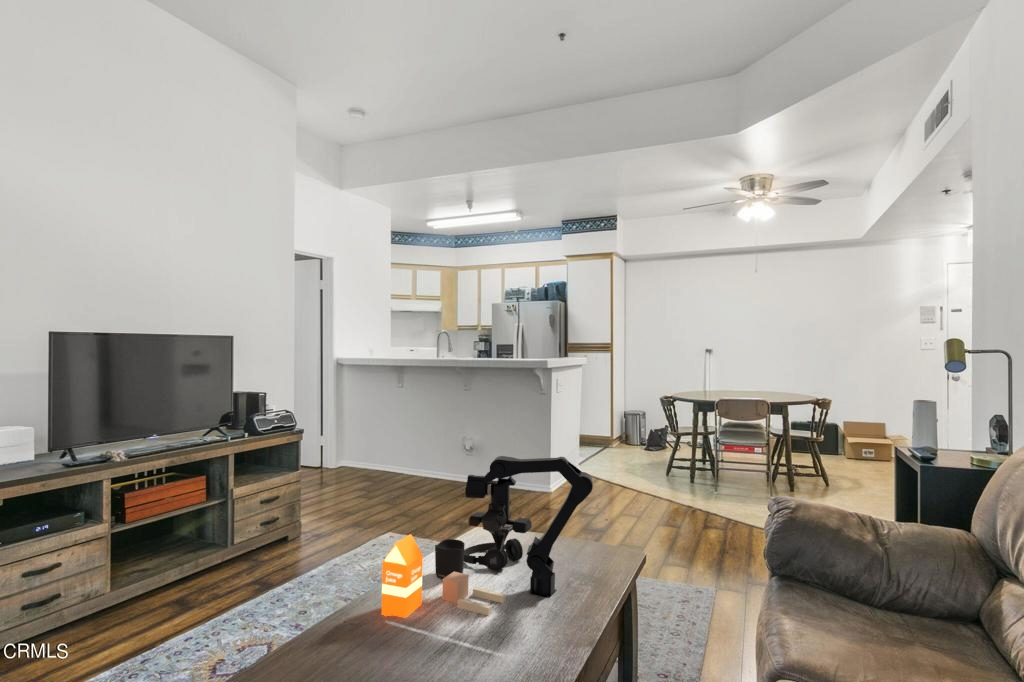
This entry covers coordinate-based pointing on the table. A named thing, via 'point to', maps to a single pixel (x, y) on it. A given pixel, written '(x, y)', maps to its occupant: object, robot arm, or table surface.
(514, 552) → the headphones
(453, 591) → the block
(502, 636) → the table surface
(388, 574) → the orange juice
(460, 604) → the beige railed tray
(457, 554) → the pen holder
